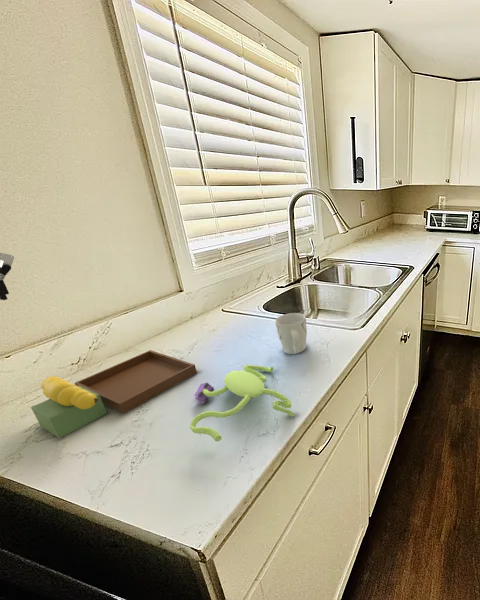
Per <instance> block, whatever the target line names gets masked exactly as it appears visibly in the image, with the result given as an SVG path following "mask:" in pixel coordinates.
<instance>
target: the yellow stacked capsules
mask: <svg viewBox="0 0 480 600" xmlns="http://www.w3.org/2000/svg"><path fill="white" fill-rule="evenodd" d="M40 387H41V389H42V394H43V395H44V396H45V397H46V398H48V399H52V400H53V401H55V402H57V403H59V404H61V405H64V406H71V405H74V406H76V407H78V408H80V409H88V408H91V407H92V406H94V405H95V404H96V402H97V401H98V399H97V397H96V395H95V394H93V393H91V392H89V391H87V390H84V389H82V388H80V387H79V386H76V385H75V384H74V383H72V382H70V381H68V380H66V379H63V378H61V377H58V376H55V375H54V376H53V375H52V376H48V377H46V378H44V379H43V380H42V382H41V384H40Z"/></svg>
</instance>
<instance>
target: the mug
mask: <svg viewBox="0 0 480 600" xmlns="http://www.w3.org/2000/svg"><path fill="white" fill-rule="evenodd" d="M274 322H275V328H276V332H277V336H278V339H279V341H280V344H281V346H282V349H283V352H284V353H286V354H289V355H295V354H300V353H302V352H303V351H305V349H306V347H307V336H308V334H307V332H308V331H307V330H308V329H307V328H308V327H307V317H306V315H305V314H303V313H301V312H300V313H299V312H290V313H285V314H282V315H280V316H278V317H276V319H275V321H274Z"/></svg>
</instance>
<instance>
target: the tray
mask: <svg viewBox="0 0 480 600" xmlns="http://www.w3.org/2000/svg"><path fill="white" fill-rule="evenodd" d="M196 374H198V371H197V367H196V364H195V363H191V362H188V361H185V360H182V359H179V358H176V357H173V356H170V355H166V354H163V353H161V352H157V351H155V350H151V349H149V350H148V351H145V352H143V353H140V354H138V355H136V356H133V357H131V358H129V359H127V360H124V361H122V362H119V363H117V364H115V365H112V366H110V367H108V368H105V369H102V370H101V371H99V372H96V373H94V374H92V375H88V376H87V377H85V378H83V379H80V380H78V381H76V382H74V383H73V384H74V385H76V386H81V387H84V388H86V389H88V390H90V391H92V392H94V393H97V394H99V396H100V398H101V400H102V403H103V405H105V406H107V407H109V408H111V409H113V410H115V411H117V412H120V413H122V414H126V413H127V412H129V411H131V410H133V409H134V408H136V407H138V406H140V405H142V404H144V403H146V402H147V401H149V400H151V399H153V398H155V397H156V396H158V395H160V394H162V393H164V392H165V391H167V390H169V389H171V388H173V387H174V386H176V385H178V384H180V383H182V382H184V381H185V380H187V379H189V378H191V377H192V376H194V375H196Z"/></svg>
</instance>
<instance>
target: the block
mask: <svg viewBox="0 0 480 600" xmlns="http://www.w3.org/2000/svg"><path fill="white" fill-rule="evenodd" d="M79 387H80V388H82V389H84V390H87V391H89V392H91V393H93V394H95V395H96V397H97V399H98V401H97V402H96V404H95V405H94V406H92V407H91V408H88V409H80V408H78V407H76V406H74V405H71V406H64V405H61V404H59V403H57V402H55V401H53V400H52V399H50V398H48V399H47V400H44V401H42V402H39V403H38V404H35V405H33V406H31V407H30V408H31V411H32V412H33V414H34V416H35V419H36V420H37V422H38V424H39V426H40V427H41V428H42V429H44V430H46V431H47V432H49V433H51V434H52V435H54V436H55V437H57V438H59V439H61V438H63V437H65V436H67V435H69V434H71V433H72V432H74V431H76V430H78V429H80V428H82V427H84V426H86V425H87V424H89V423H91V422H93V421H95V420H97V419H99V418H101V417H102V416H104V415H106V414H108V412H107V411H106V408H105V406H104V405H105V404H103V403H102V400H101V398H100V396H99V394H97V393H94V392H92V391H90V390H88V389H86V388H84V387H81V386H79Z"/></svg>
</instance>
